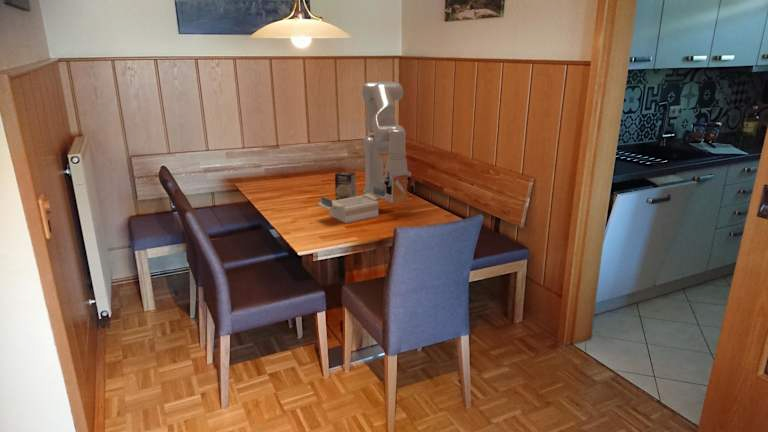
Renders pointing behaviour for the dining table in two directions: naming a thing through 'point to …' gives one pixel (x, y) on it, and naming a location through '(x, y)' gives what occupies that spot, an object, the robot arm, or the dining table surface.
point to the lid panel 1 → (329, 204)
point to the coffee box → (345, 185)
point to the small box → (398, 189)
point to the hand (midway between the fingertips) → (396, 192)
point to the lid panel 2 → (376, 194)
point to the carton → (355, 209)
